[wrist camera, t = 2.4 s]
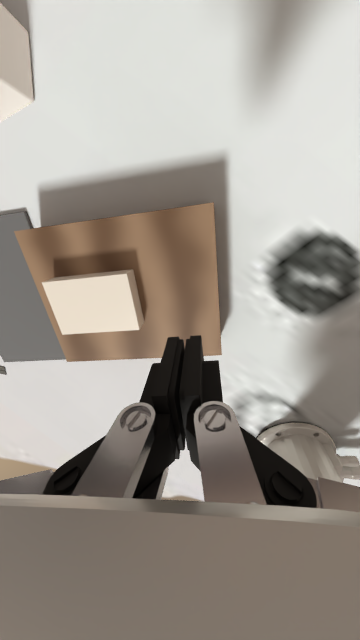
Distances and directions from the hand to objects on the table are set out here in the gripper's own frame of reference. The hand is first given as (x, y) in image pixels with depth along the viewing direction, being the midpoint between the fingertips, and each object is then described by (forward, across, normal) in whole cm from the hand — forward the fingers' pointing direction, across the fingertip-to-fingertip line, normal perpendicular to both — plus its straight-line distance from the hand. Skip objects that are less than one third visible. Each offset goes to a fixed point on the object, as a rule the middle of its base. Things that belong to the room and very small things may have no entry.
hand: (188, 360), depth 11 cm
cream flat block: (+13, +11, +1) cm, 17 cm away
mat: (+17, +25, +1) cm, 30 cm away
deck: (+17, +8, +1) cm, 18 cm away
